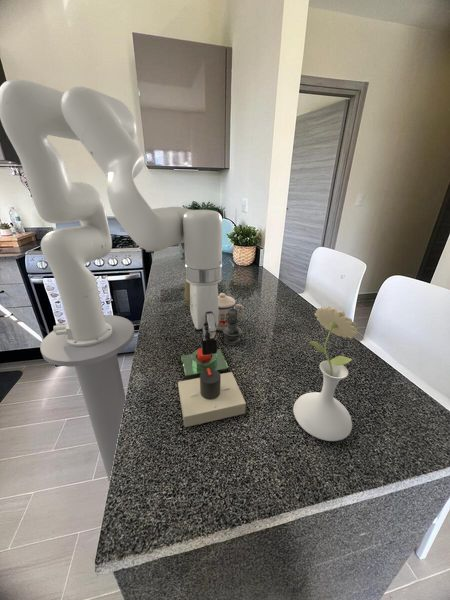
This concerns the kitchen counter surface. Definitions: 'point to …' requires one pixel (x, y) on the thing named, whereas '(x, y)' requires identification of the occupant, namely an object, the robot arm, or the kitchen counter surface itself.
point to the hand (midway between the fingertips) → (205, 341)
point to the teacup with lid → (225, 310)
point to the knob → (210, 384)
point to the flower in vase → (327, 385)
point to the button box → (202, 364)
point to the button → (202, 356)
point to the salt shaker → (232, 328)
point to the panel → (210, 401)
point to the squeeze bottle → (187, 293)
